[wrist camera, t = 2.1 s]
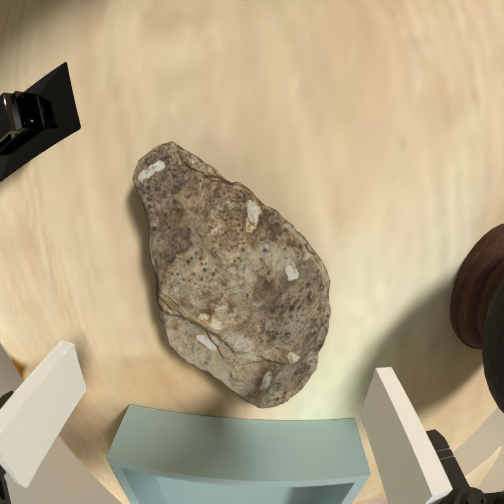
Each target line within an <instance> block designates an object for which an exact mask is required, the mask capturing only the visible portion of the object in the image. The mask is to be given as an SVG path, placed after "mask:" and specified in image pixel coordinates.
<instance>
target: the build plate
mask: <svg viewBox="0 0 504 504" xmlns="http://www.w3.org/2000/svg"><path fill="white" fill-rule="evenodd" d="M80 128H81V125H80V121H79V117H78V113H77V109H76V104H75V100H74V95H73V91H72V86H71V81H70V76H69V71H68V66H67V62H64V63H63V64H61V65H60V66H58V67H57V68H56V69H54V70H53V71H51V72H50V73H48V74H47V75H46V76H44V77H43V78H42V79H40V80H39V81H37V82H36V83H35V84H34V85H32V86H31V87H30V88H28V89H27V90H26V91H25V92H19V91H15V92H14V93H13V94H12V93H3V94H1V95H0V182H1V181H3V180H4V179H5V178H7V177H8V176H9V175H11V174H12V173H13V172H15V171H16V170H17V169H19V168H20V167H22V166H23V165H24V164H26V163H27V162H29V161H30V160H32V159H33V158H35V157H36V156H38V155H39V154H41V153H42V152H44V151H45V150H47V149H48V148H50V147H51V146H53V145H55V144H56V143H58V142H59V141H61V140H63V139H64V138H66V137H68V136H69V135H71V134H73V133H74V132H76V131H78V130H79V129H80Z"/></svg>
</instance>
